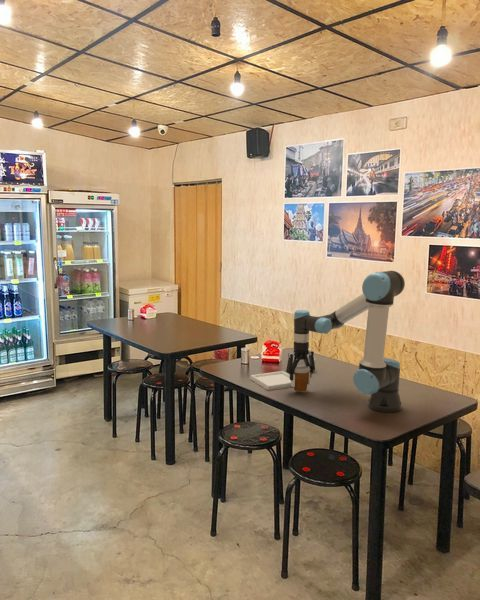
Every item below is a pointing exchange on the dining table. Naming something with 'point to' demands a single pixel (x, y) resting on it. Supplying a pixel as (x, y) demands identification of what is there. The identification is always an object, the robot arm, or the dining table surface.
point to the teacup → (303, 361)
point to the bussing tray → (272, 380)
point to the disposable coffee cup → (301, 377)
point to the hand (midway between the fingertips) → (300, 385)
